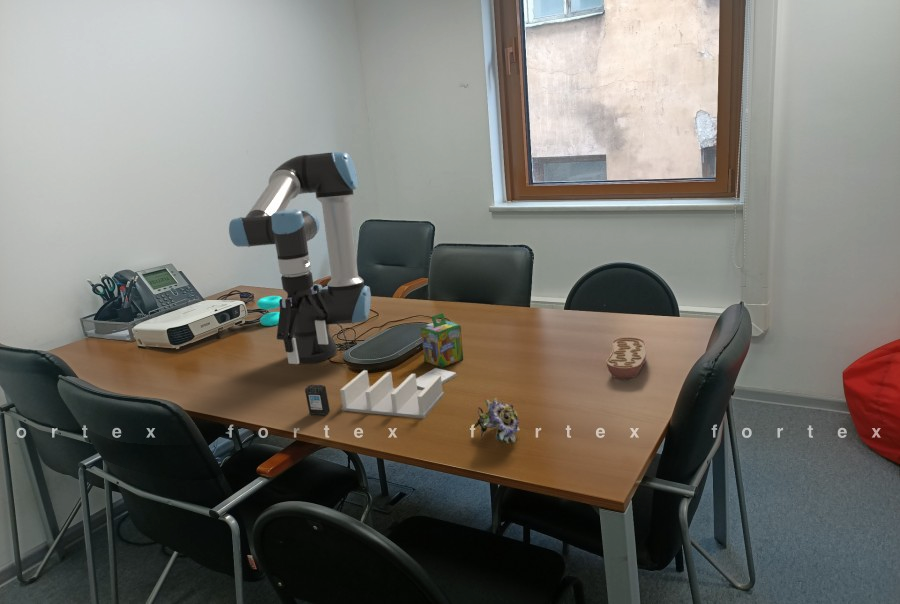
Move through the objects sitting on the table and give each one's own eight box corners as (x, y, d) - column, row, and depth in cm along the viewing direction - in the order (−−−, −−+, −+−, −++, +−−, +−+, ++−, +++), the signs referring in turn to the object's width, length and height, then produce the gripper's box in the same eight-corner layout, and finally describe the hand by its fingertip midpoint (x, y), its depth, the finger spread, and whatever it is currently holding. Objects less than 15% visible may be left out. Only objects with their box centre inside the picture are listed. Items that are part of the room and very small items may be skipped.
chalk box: (441, 368, 190) (437, 322, 186) (423, 361, 197) (418, 316, 193) (464, 359, 195) (460, 313, 191) (446, 352, 202) (441, 308, 198)
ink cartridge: (309, 415, 168) (304, 388, 166) (313, 411, 170) (308, 384, 168) (326, 416, 166) (320, 388, 164) (330, 412, 168) (325, 384, 166)
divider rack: (366, 388, 181) (363, 369, 180) (444, 394, 172) (442, 375, 171) (341, 410, 169) (338, 390, 167) (424, 418, 160) (421, 397, 158)
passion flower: (513, 462, 147) (511, 440, 137) (468, 450, 150) (463, 428, 140) (525, 419, 153) (524, 395, 143) (481, 408, 156) (478, 385, 146)
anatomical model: (614, 352, 190) (614, 336, 189) (648, 353, 187) (648, 337, 185) (604, 384, 170) (604, 366, 169) (643, 386, 166) (643, 368, 165)
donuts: (262, 303, 241) (252, 299, 249) (267, 328, 244) (256, 323, 252) (286, 297, 247) (275, 293, 255) (290, 321, 250) (279, 317, 258)
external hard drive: (407, 388, 180) (435, 372, 189) (428, 394, 175) (456, 377, 184) (406, 382, 180) (434, 367, 189) (428, 388, 174) (456, 372, 183)
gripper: (278, 287, 144) (293, 373, 150) (335, 261, 167) (346, 337, 173) (251, 286, 147) (267, 371, 153) (311, 261, 169) (322, 335, 175)
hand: (309, 353), depth 163 cm, fingers open, 13 cm apart
